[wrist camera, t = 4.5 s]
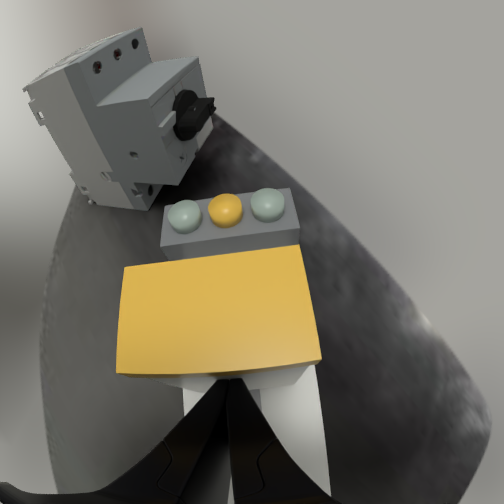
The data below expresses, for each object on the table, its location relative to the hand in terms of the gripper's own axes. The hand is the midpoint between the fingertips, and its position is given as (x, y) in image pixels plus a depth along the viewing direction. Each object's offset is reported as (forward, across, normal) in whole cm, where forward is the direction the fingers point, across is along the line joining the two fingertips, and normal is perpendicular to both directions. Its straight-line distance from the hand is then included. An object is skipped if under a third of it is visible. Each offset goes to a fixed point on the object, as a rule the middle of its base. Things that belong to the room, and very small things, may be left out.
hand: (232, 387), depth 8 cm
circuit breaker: (+20, +8, -8) cm, 23 cm away
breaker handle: (+5, 0, +3) cm, 6 cm away
